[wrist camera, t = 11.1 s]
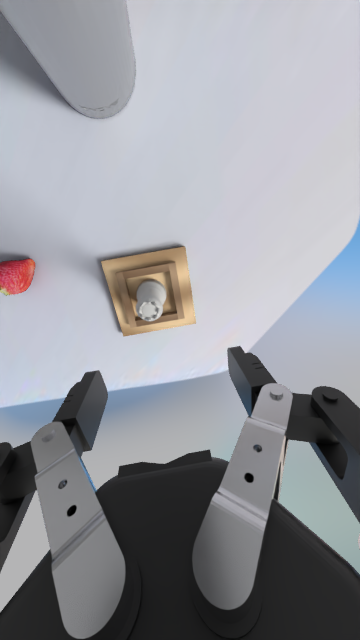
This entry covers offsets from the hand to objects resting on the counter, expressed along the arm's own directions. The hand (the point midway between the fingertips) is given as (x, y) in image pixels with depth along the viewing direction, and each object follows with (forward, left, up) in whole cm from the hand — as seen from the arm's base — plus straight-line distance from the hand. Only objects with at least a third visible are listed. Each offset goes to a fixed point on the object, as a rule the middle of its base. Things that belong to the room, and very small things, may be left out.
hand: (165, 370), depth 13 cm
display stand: (+1, -2, -22) cm, 22 cm away
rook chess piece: (0, -2, -20) cm, 20 cm away
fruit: (-6, -19, -22) cm, 30 cm away
